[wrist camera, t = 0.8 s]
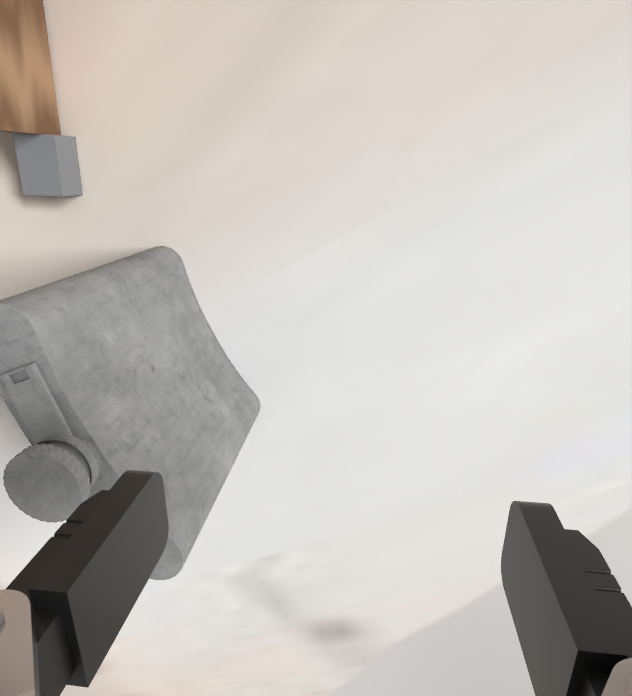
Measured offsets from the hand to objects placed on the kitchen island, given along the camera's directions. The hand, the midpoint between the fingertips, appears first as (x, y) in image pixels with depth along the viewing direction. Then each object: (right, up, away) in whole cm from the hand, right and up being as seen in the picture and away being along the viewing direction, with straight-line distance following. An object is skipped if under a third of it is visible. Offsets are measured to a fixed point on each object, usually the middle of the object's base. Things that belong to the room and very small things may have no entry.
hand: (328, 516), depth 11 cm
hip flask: (-10, +5, +29) cm, 31 cm away
